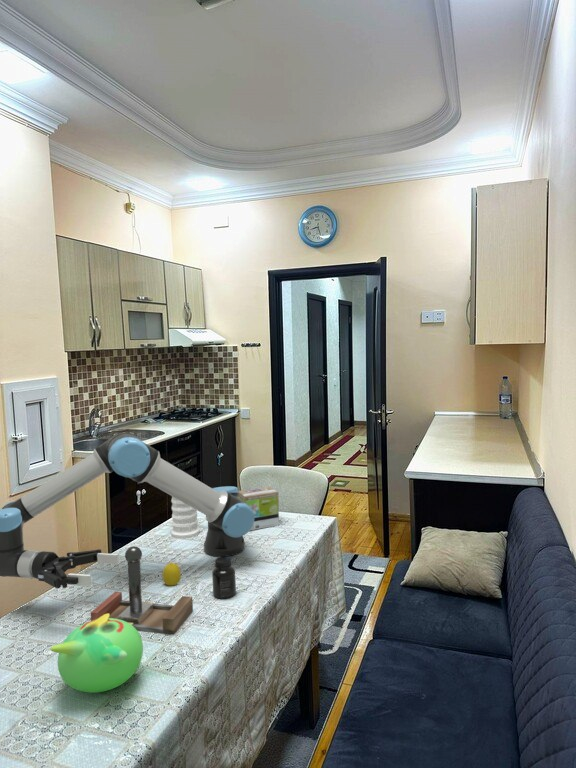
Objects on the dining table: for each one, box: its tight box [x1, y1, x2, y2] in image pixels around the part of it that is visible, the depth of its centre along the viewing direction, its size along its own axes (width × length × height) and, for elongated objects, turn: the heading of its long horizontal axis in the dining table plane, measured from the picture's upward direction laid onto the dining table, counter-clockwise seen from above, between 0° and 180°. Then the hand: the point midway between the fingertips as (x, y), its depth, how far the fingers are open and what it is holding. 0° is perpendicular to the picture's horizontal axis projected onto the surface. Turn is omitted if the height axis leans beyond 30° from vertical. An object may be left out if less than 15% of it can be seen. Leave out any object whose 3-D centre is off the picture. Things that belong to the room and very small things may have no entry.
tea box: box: [238, 486, 280, 531], centre depth 216 cm, size 15×10×15 cm, turn 117°
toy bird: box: [50, 613, 144, 694], centre depth 115 cm, size 18×17×15 cm
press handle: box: [118, 545, 153, 625], centre depth 141 cm, size 6×8×20 cm
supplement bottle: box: [211, 556, 237, 601], centre depth 153 cm, size 7×7×12 cm
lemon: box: [162, 562, 182, 587], centre depth 161 cm, size 6×6×8 cm
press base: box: [90, 591, 194, 636], centre depth 141 cm, size 24×12×6 cm, turn 77°
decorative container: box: [170, 496, 201, 539], centre depth 208 cm, size 12×12×18 cm
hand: (104, 569), depth 145 cm, fingers open, 13 cm apart
